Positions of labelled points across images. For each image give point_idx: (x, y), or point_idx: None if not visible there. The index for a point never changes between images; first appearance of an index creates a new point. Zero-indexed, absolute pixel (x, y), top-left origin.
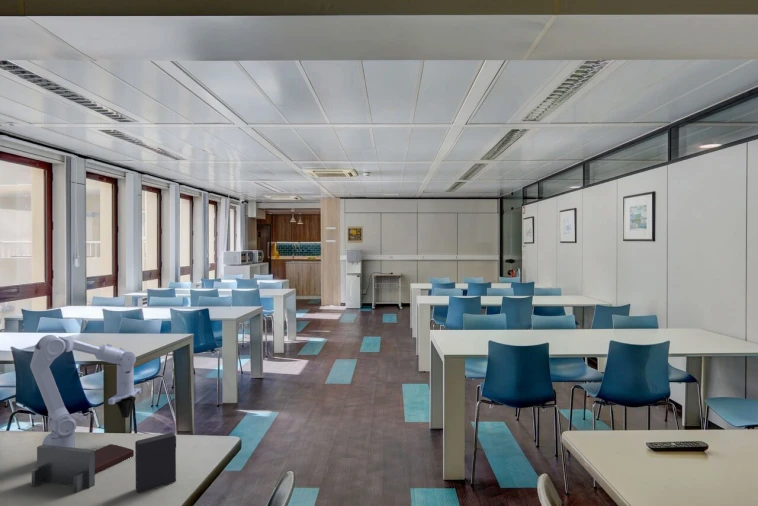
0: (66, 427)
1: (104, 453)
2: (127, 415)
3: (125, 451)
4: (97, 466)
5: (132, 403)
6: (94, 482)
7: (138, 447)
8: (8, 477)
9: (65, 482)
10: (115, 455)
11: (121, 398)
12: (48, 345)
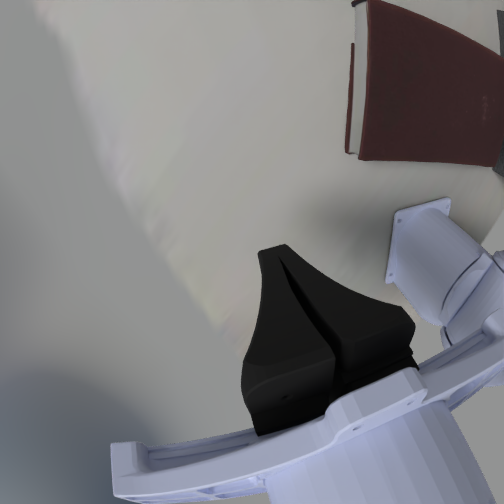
0: None
1: (435, 95)
2: (286, 251)
3: (395, 22)
4: (484, 48)
5: (272, 326)
6: (502, 11)
7: None
8: (479, 243)
9: None
10: (431, 39)
11: (472, 357)
12: None
